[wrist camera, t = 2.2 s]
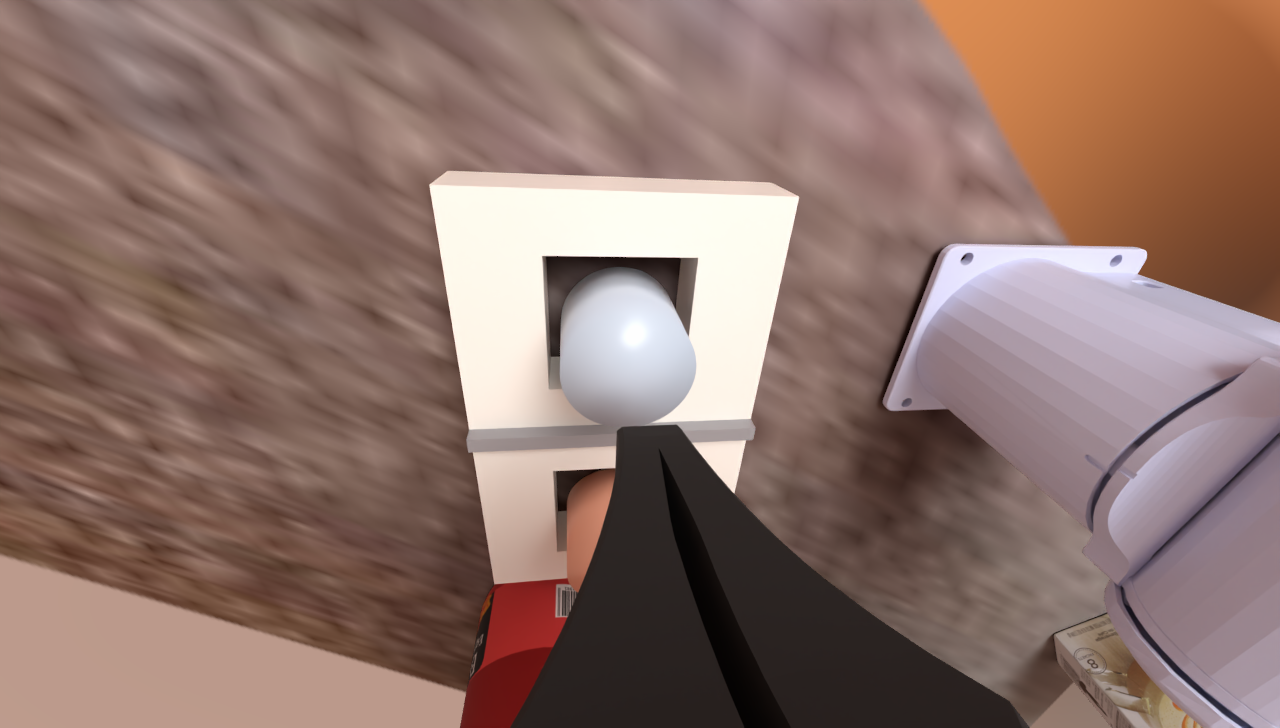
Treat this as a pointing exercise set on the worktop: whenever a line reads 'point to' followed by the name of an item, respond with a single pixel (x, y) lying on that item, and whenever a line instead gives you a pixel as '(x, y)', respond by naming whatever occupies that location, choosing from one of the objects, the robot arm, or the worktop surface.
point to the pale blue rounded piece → (623, 349)
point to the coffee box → (1115, 678)
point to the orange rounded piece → (586, 521)
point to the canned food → (513, 648)
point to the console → (520, 336)
